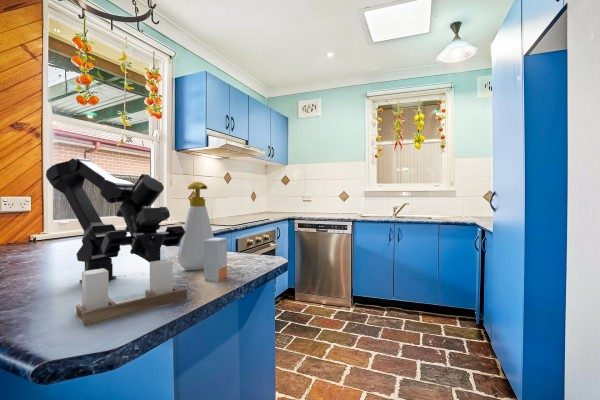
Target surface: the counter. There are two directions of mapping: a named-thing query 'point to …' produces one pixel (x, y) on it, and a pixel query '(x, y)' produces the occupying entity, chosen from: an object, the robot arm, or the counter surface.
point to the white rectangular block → (161, 276)
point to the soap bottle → (195, 231)
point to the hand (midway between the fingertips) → (158, 265)
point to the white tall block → (95, 289)
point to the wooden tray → (130, 306)
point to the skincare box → (215, 259)
